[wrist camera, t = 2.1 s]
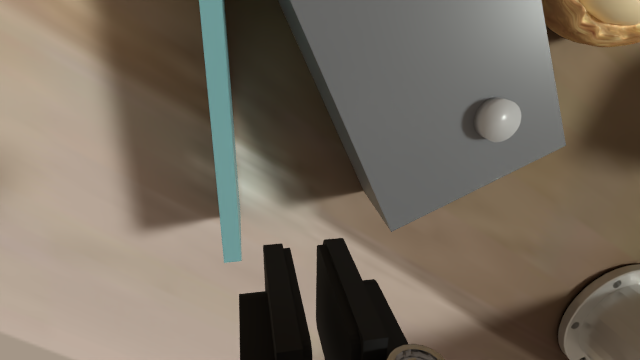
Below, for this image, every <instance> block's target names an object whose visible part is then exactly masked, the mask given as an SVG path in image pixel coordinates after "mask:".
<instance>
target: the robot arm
mask: <svg viewBox="0 0 640 360" xmlns="http://www.w3.org/2000/svg"><path fill="white" fill-rule="evenodd" d="M263 253H264V273H265V291H264V292H255V293H246V294H239V314H240V360H312V347H311V340H310V335H309V331H308V326H307V322H306V317H305V313H304V308H303V304H302V299H301V295H300V290H299V286H298V282H297V277H296V273H295V268H294V264H293V259H292V255H291V250H290V248H283V245H282V244H272V245H263ZM316 323H317V329H318V333H319V337H320V341H321V345H322V349H323V353H324V357H325V360H445V359H444V358H443V357H442V356H441V355H440V354H439V353H437V352H436V351H434V350H433V349H431V348H428V347H425V346H423V345H416V344H408V342H407V340H406V338H405V336H404V334H403V333H402V331H401V329H400V327H399V325H398V323H397V321H396V319H395V317H394V315H393V313H392V311H391V309H390V307H389V305H388V303H387V301H386V299H385V297H384V295H383V293H382V291H381V289H380V287H379V285H378V283H377V282H376V280H374V279H372V280H363V281H362V279H361V276H360V274H359V272H358V270H357V268H356V265H355V263H354V261H353V259H352V257H351V254H350V252H349V250H348V248H347V246H346V244H345V241H344V239H343V238H338V239H327V240H324V242H323V245H318V246H317V283H316ZM558 342H559V346H560V348H561V351H562V352H563V353H564V354H565V355H566V356H567V358H568V359H569V360H640V264H636V265H629V266H625V267H621V268H618V269H615V270H613V271H611V272H608V273H606V274H604V275H603V276H601V277H599V278H598V279H596V280H594V281H593V282H592V283H591V284H589V285H588V286H587V287H586V288H584V289H583V290H582V291H581V292H580V293H579V294H578V295H577V296H576V297H575V299H574V300H573V301H572V303H571V304H570V305H569V306H568V308H567V310H566V312H565V313H564V315H563V317H562V320H561V323H560V326H559V332H558Z"/></svg>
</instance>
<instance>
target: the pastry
mask: <svg viewBox="0 0 640 360" xmlns="http://www.w3.org/2000/svg"><path fill="white" fill-rule="evenodd" d="M541 1H542V7H543V13H544V19H545V25H546V26H547V27H548V28H549V29H550V30H552V31H553V32H555V33H557V34H558V35H560V36H561V37H563V38H566V39H568V40H571V41H573V42H577V43H582V44H587V45H592V46H598V47H615V46H623V45H629V44H634V43H638V42H640V0H541Z"/></svg>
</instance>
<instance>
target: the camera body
mask: <svg viewBox="0 0 640 360" xmlns="http://www.w3.org/2000/svg"><path fill="white" fill-rule="evenodd" d="M278 2H279V4H280V6H281V8H282V11H283V13H284V15H285V17H286V19H287V22H288V24H289V26H290V28H291V31H292V33H293V35H294V37H295V39H296V42H297V44H298V46H299V48H300V51H301V53H302V55H303V57H304V59H305V62H306V64H307V66H308V68H309V71H310V73H311V75H312V77H313V79H314V82H315V84H316V86H317V88H318V91H319V93H320V95H321V97H322V99H323V102H324V104H325V106H326V108H327V111H328V113H329V115H330V117H331V119H332V122H333V124H334V126H335V128H336V131H337V133H338V135H339V137H340V139H341V142H342V144H343V146H344V148H345V151H346V153H347V155H348V157H349V159H350V162H351V164H352V166H353V168H354V170H355V173H356V175H357V177H358V179H359V182H360V184H361V186H362V188H363V190H364V192H365V194H366V195H367V197H368V198H369V200H370V201H371V203H372V204H373V205H374V207H375V208H376V210H377V211H378V213H379V214H380V216H381V217H382V219H383V220H384V222H385V223H386V225H387V226H388V228H389V229H390V231H391V232H392V231H394V230H396V229H398V228H400V227H402V226H404V225H406V224H408V223H410V222H412V221H414V220H416V219H418V218H420V217H422V216H424V215H426V214H428V213H430V212H432V211H434V210H436V209H438V208H441V207H443V206H445V205H447V204H449V203H451V202H453V201H455V200H457V199H459V198H461V197H463V196H465V195H467V194H469V193H471V192H473V191H475V190H477V189H479V188H481V187H483V186H485V185H487V184H489V183H491V182H493V181H495V180H497V179H499V178H501V177H503V176H505V175H507V174H509V173H511V172H513V171H515V170H517V169H519V168H521V167H523V166H525V165H527V164H529V163H531V162H533V161H535V160H537V159H539V158H542V157H544V156H546V155H548V154H550V153H552V152H554V151H556V150H558V149H560V148H562V147H564V146H566V143H565V137H564V131H563V125H562V119H561V114H560V108H559V102H558V96H557V90H556V84H555V78H554V72H553V66H552V60H551V54H550V48H549V42H548V36H547V30H546V25H545V19H544V13H543V7H542V1H541V0H278Z"/></svg>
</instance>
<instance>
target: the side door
mask: <svg viewBox="0 0 640 360" xmlns="http://www.w3.org/2000/svg"><path fill="white" fill-rule="evenodd" d="M199 6H200V16H201V27H202V37H203V47H204V58H205V68H206V79H207V89H208V99H209V110H210V120H211V131H212V141H213V152H214V162H215V172H216V183H217V193H218V204H219V214H220V224H221V235H222V245H223V256H224V263H226V262H236V261H242V260H241V223H240V204H239V191H238V177H237V163H236V150H235V136H234V122H233V109H232V95H231V81H230V68H229V54H228V41H227V27H226V13H225V0H199Z"/></svg>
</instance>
